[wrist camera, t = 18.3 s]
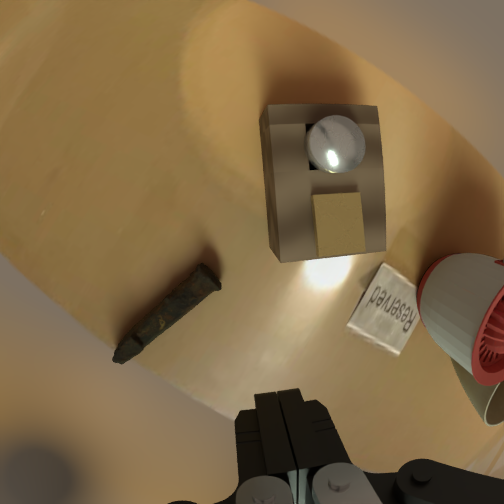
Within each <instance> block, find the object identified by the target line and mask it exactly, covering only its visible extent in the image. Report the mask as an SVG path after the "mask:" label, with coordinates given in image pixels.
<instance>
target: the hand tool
mask: <svg viewBox="0 0 504 504" xmlns="http://www.w3.org/2000/svg"><path fill="white" fill-rule="evenodd" d="M219 290H221V282H220V281H219V280H218V278H217V277H216V276H215V274H214V273H213V272H212V271H211V270H210V269H209V268H208V267H207V266H206V265H204V264H203V263H201V264H199V265H198V266H197V269H196V271H195V272H192V273H191V274H190V277H189V278H188V279H186V280H185V281H184V282H183V283H181V284H180V285H179V286H178V287H177V288H175V289H174V290H173V291H172V293H171V294H169V295H167V296H166V298H165V299H164V300H163V301H162V302H161V303H160V304H159V305H158V306H156V307H155V308H154V309H153V310H152V311H151V312H150V313H149V314H148V315H146V316H145V317H144V318H143V319H142V320H141V321H140V322H139V323H138V324H137V325H135V326H134V327H133V328H132V329H131V330H130V331H129V332H128V333H127V334H126V336H125V337H124V338H123V340H122V341H121V342H120V343H119V344H118V347H117V349H116V350H115V352H114V356H113V359H112V360H113V362H115V363H120V364H124V363H125V362H126V361H128V360H130V359H131V358H133V357H134V356H136V355H138V354H139V353H140V352H141V351H142V350H143V349H144V347H145V346H147V345H148V344H149V343H151V342H152V341H153V340H154V339H155V338H156V337H157V336H159V335H160V334H162V333H163V332H164V331H165V330H166V329H168V328H169V327H171V326H172V325H173V324H174V323H176V322H177V321H178V320H179V319H181V318H182V317H183V316H184V315H185V314H187V313H188V312H189V311H190V310H192V309H193V308H194V307H195V306H196V305H198V304H199V303H200V302H201V301H202V300H203V299H205V298H206V297H207V296H208V295H209V294H211V293H212V292H214V291H219Z"/></svg>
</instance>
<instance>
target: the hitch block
mask: <svg viewBox="0 0 504 504" xmlns="http://www.w3.org/2000/svg"><path fill="white" fill-rule="evenodd" d="M332 115H340V116H344V117H347V118H349V119H350V120H352V121H353V122H354V123H356V124H357V126H358V127H359V128H360V129H361V131H362V133H363V136H364V139H365V146H366V148H365V154H364V157H363V159H362V161H361V162H360V164H359V165H358V166H357V167H356V168H354V169H353V170H351V171H348V172H344V173H325V172H322V171H320V170H309V160H308V158H307V156H306V154H305V150H304V139H305V135H306V133H307V131H308V130H309V128H310V127H311V126H312V125H314V124H315V123H316V122H318V121H320V120H321V119H323V118H325V117H328V116H332ZM259 126H260V137H261V148H262V159H263V171H264V182H265V194H266V206H267V219H268V231H269V244H270V249H271V250H272V251H273V253H274V254H275V256H276V257H277V258H278V260H279V261H280V263H285V262H294V261H303V260H312V259H321V258H330V257H339V256H347V255H356V254H365V253H373V252H381V251H386V209H385V186H384V169H383V156H382V145H381V134H380V125H379V117H378V109H377V106H369V105H349V104H276V105H267V107H266V108H265V110H264V112H263V114H262V115H261V117H260V119H259ZM356 192H360V196H361V205H362V215H363V225H364V237H365V249H366V252H358V253H349V254H340V255H331V256H322V257H318V256H316V245H315V234H314V224H313V214H312V204H311V196H312V195H322V194H338V193H356Z"/></svg>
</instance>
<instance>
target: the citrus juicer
mask: <svg viewBox="0 0 504 504" xmlns="http://www.w3.org/2000/svg"><path fill="white" fill-rule="evenodd" d="M417 308H418V311H419V315H420V318H421V320H422V322H423V324H424V326H425V327H426V328H427V330H428V332H429V334H430V335H431V337H432V338H433V339H434V341H435V342H436V343H437V344H438V345H439V346H440V347H441V348H442V349H443V350H444V351H445V352H446V353H447V354H448V355H449V356H451V357H452V358H453V359H454V360H455V361H457V362H458V363H459V364H460V365H461V366H463V367H464V368H465V369H466V370H467V371H468V372H470V373H471V374H472V375H473V376H474V379H475V380H476V381H477V382H478V383H479V384H481V385H484V386H492V385H495V384H498V383H500V382H502V381H504V260H500V259H497V258H494V257H491V256H487V255H483V254H476V253H456V254H451V255H448V256H445V257H442V258H440V259H438V260H437V261H435V262H434V263H433V264H432V265H431V266H430V267H429V269H428V270H427V271H426V273H425V274H424V276H423V278H422V280H421V283H420V285H419V289H418V293H417Z"/></svg>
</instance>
